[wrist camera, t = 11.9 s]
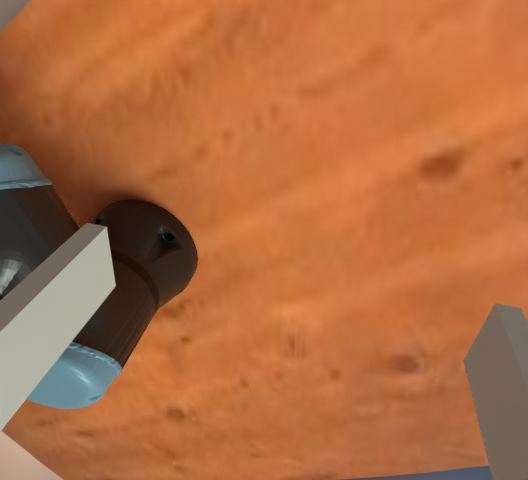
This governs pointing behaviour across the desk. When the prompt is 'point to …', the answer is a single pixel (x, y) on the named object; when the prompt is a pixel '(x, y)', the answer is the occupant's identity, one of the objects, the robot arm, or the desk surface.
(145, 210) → the robot arm
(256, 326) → the desk surface
